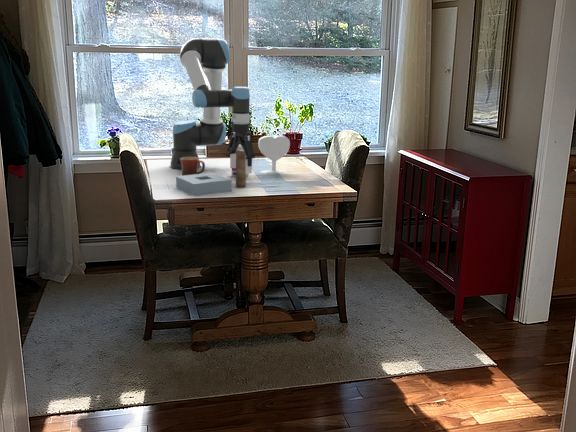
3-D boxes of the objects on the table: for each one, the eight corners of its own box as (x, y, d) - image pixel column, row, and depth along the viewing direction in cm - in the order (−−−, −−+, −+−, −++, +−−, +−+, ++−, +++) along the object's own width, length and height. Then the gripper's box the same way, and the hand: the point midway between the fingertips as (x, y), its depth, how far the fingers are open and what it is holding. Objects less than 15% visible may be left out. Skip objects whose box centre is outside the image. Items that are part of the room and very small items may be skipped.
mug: (177, 181, 284) (176, 159, 282) (186, 177, 292) (185, 156, 290) (200, 183, 281) (200, 161, 278) (208, 179, 289) (208, 158, 286)
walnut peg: (234, 185, 277) (233, 150, 272) (242, 184, 279) (242, 149, 275) (239, 187, 273) (238, 152, 269) (247, 186, 276) (247, 151, 271)
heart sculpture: (287, 170, 314) (288, 135, 309) (289, 172, 309) (290, 136, 304) (257, 171, 310) (257, 135, 305) (259, 173, 306) (259, 136, 301)
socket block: (176, 187, 272) (175, 176, 270) (212, 183, 281) (212, 172, 280) (194, 195, 257) (193, 184, 256) (231, 190, 267) (231, 179, 266)
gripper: (219, 120, 276) (220, 166, 282) (247, 126, 257) (247, 176, 262) (234, 119, 281) (234, 165, 286) (263, 125, 261) (262, 174, 267)
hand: (240, 170), depth 274 cm, fingers open, 13 cm apart
